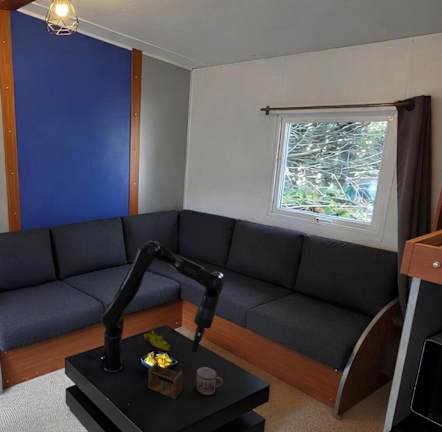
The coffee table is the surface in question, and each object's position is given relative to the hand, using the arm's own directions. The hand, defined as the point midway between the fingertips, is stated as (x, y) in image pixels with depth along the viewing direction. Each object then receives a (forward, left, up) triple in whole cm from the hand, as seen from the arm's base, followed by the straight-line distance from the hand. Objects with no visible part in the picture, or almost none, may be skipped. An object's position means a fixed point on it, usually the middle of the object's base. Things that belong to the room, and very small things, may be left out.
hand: (195, 347), depth 181 cm
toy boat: (-33, +30, -26) cm, 51 cm away
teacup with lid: (+4, +10, -26) cm, 28 cm away
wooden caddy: (-13, -2, -26) cm, 29 cm away
